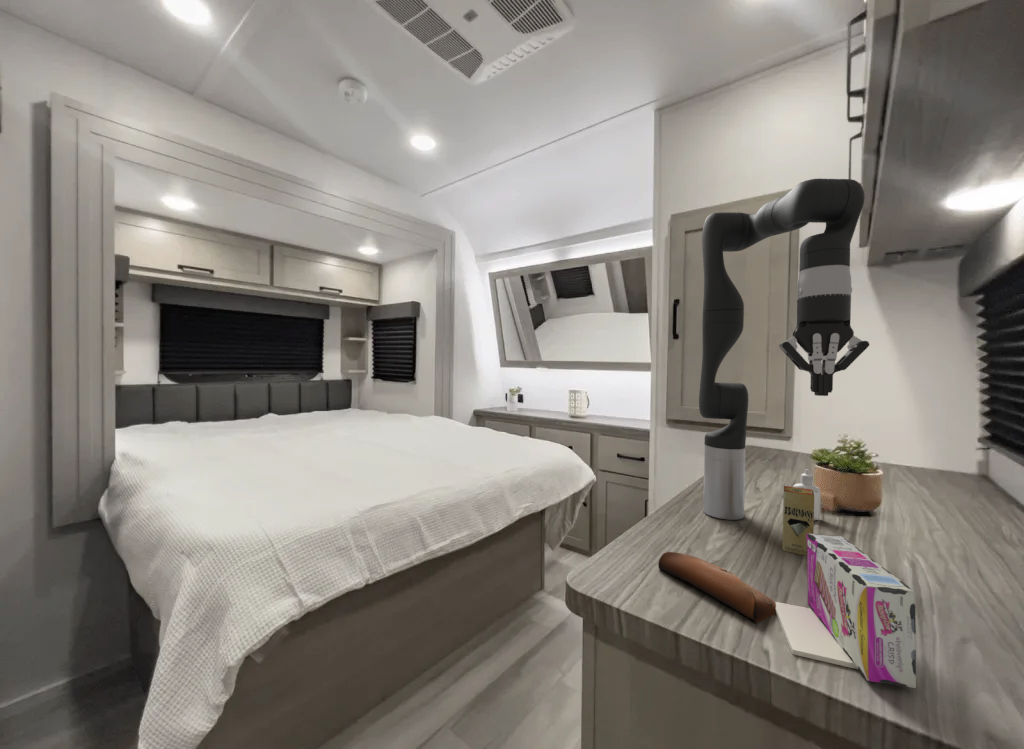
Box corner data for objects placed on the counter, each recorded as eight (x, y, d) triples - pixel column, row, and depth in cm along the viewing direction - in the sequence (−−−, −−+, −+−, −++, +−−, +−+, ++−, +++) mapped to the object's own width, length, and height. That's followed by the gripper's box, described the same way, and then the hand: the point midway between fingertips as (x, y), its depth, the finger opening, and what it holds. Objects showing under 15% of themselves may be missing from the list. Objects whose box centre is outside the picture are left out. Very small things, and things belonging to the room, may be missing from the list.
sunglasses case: (789, 609, 62) (776, 576, 61) (764, 644, 60) (750, 611, 58) (689, 560, 78) (677, 533, 77) (666, 586, 76) (653, 558, 74)
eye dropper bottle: (812, 522, 100) (814, 473, 99) (788, 515, 105) (789, 467, 104) (823, 520, 101) (824, 471, 101) (799, 512, 106) (800, 466, 106)
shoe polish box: (812, 556, 81) (814, 495, 81) (782, 550, 84) (784, 491, 83) (811, 547, 85) (812, 489, 85) (782, 542, 88) (783, 485, 88)
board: (772, 605, 64) (772, 601, 64) (870, 624, 59) (870, 620, 59) (792, 654, 52) (792, 649, 52) (914, 682, 48) (914, 677, 48)
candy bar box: (803, 532, 63) (865, 584, 47) (841, 535, 62) (918, 589, 46) (804, 606, 63) (867, 683, 47) (843, 610, 62) (920, 691, 46)
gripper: (861, 297, 73) (859, 395, 73) (774, 301, 78) (772, 393, 78) (881, 289, 66) (878, 398, 66) (783, 294, 71) (781, 395, 71)
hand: (820, 395), depth 72 cm, fingers closed
